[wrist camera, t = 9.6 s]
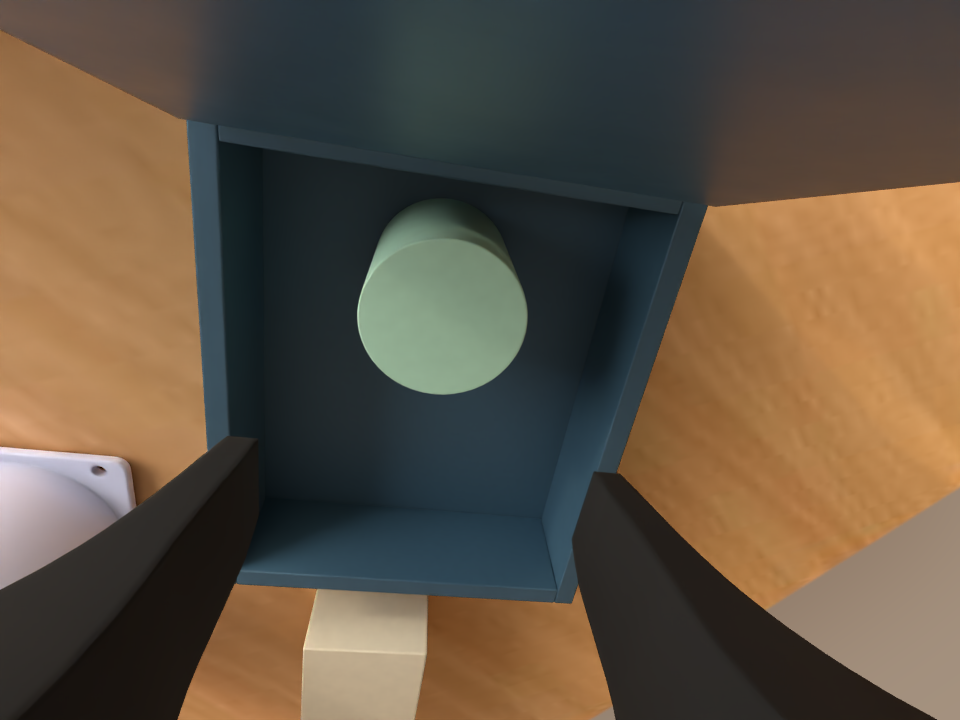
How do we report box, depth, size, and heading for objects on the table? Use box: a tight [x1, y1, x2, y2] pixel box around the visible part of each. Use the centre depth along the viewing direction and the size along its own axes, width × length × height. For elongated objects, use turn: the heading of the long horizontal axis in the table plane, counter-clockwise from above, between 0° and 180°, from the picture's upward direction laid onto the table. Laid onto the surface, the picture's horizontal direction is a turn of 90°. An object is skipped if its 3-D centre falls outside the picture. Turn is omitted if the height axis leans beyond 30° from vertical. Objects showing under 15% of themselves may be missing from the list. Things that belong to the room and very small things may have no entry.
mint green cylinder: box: [357, 198, 528, 395], centre depth 17 cm, size 4×4×5 cm
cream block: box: [301, 589, 428, 720], centre depth 25 cm, size 5×6×4 cm
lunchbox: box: [186, 120, 708, 604], centre depth 19 cm, size 15×13×4 cm
